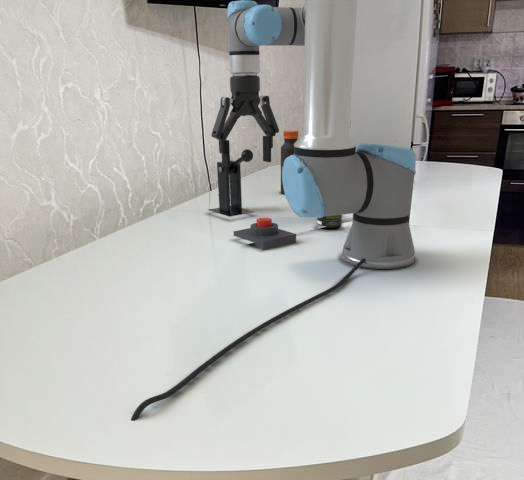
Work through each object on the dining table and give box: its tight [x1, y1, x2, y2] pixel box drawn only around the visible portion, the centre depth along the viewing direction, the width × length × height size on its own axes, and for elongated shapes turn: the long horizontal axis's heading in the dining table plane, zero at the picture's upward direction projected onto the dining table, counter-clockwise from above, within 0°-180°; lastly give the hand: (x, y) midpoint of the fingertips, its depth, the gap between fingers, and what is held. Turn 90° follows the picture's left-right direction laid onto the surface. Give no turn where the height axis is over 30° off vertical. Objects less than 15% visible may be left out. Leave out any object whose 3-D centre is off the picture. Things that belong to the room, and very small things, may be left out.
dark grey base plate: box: [233, 222, 297, 251], centre depth 127 cm, size 12×10×4 cm
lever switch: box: [208, 159, 255, 218], centre depth 151 cm, size 12×9×15 cm
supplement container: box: [316, 215, 343, 231], centre depth 136 cm, size 7×7×10 cm
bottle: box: [280, 130, 299, 195], centre depth 179 cm, size 7×7×20 cm
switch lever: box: [229, 148, 254, 174], centre depth 144 cm, size 13×3×3 cm, turn 38°
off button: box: [256, 217, 273, 227], centre depth 126 cm, size 4×4×2 cm
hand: (247, 164), depth 141 cm, fingers open, 13 cm apart
